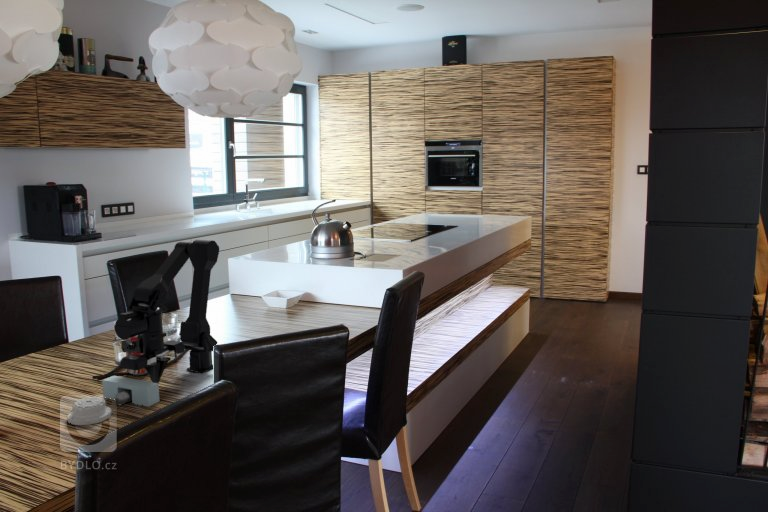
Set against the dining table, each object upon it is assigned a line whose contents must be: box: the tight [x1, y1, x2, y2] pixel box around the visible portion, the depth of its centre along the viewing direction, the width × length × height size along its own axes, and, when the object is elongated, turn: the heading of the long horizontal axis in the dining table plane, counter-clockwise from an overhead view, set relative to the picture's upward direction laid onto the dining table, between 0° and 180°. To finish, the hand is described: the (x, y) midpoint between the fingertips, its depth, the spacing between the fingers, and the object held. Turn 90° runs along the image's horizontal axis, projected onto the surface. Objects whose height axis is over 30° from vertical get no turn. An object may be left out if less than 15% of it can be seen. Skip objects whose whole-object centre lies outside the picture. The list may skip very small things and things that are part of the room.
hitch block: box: [101, 375, 160, 408], centre depth 176 cm, size 4×16×5 cm, turn 65°
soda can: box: [125, 335, 148, 376], centre depth 198 cm, size 7×7×12 cm
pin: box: [114, 389, 132, 405], centre depth 176 cm, size 7×6×4 cm
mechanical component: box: [67, 396, 112, 426], centre depth 165 cm, size 10×4×10 cm
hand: (155, 384), depth 185 cm, fingers closed
